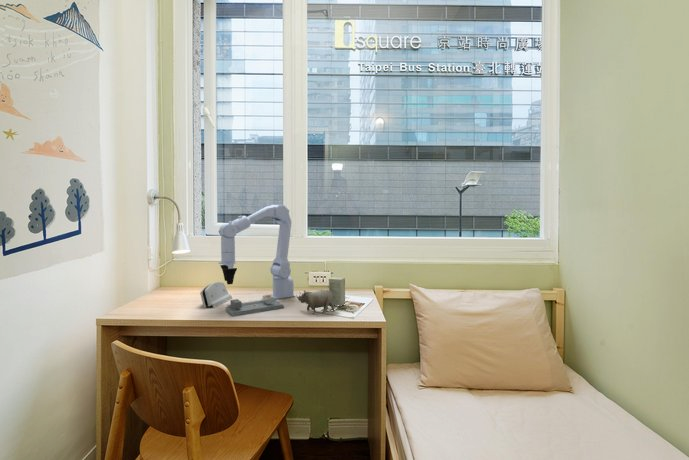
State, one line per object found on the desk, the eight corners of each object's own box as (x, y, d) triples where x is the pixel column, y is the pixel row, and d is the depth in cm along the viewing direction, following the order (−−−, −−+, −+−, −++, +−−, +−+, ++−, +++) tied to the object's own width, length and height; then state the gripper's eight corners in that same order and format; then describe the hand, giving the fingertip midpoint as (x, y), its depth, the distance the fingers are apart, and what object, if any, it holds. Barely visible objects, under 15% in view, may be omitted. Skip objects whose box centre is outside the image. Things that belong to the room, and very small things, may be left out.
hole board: (274, 303, 168) (274, 292, 167) (283, 307, 160) (283, 297, 160) (225, 310, 155) (225, 299, 155) (232, 316, 148) (232, 304, 147)
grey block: (269, 301, 164) (269, 293, 164) (273, 303, 160) (273, 295, 159) (262, 302, 162) (262, 294, 162) (267, 304, 158) (267, 296, 158)
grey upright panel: (214, 308, 158) (206, 286, 158) (204, 311, 159) (197, 289, 159) (232, 298, 175) (225, 278, 175) (224, 301, 176) (217, 281, 176)
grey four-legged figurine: (340, 309, 150) (319, 278, 151) (312, 328, 151) (291, 297, 151) (341, 305, 158) (321, 276, 159) (315, 323, 159) (295, 294, 159)
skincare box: (345, 304, 166) (345, 277, 165) (341, 307, 162) (341, 279, 161) (332, 303, 169) (332, 276, 168) (328, 305, 165) (328, 278, 164)
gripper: (216, 250, 167) (217, 279, 168) (220, 254, 154) (221, 286, 155) (232, 249, 170) (233, 278, 171) (238, 253, 157) (238, 285, 158)
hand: (228, 282), depth 163 cm, fingers open, 7 cm apart
